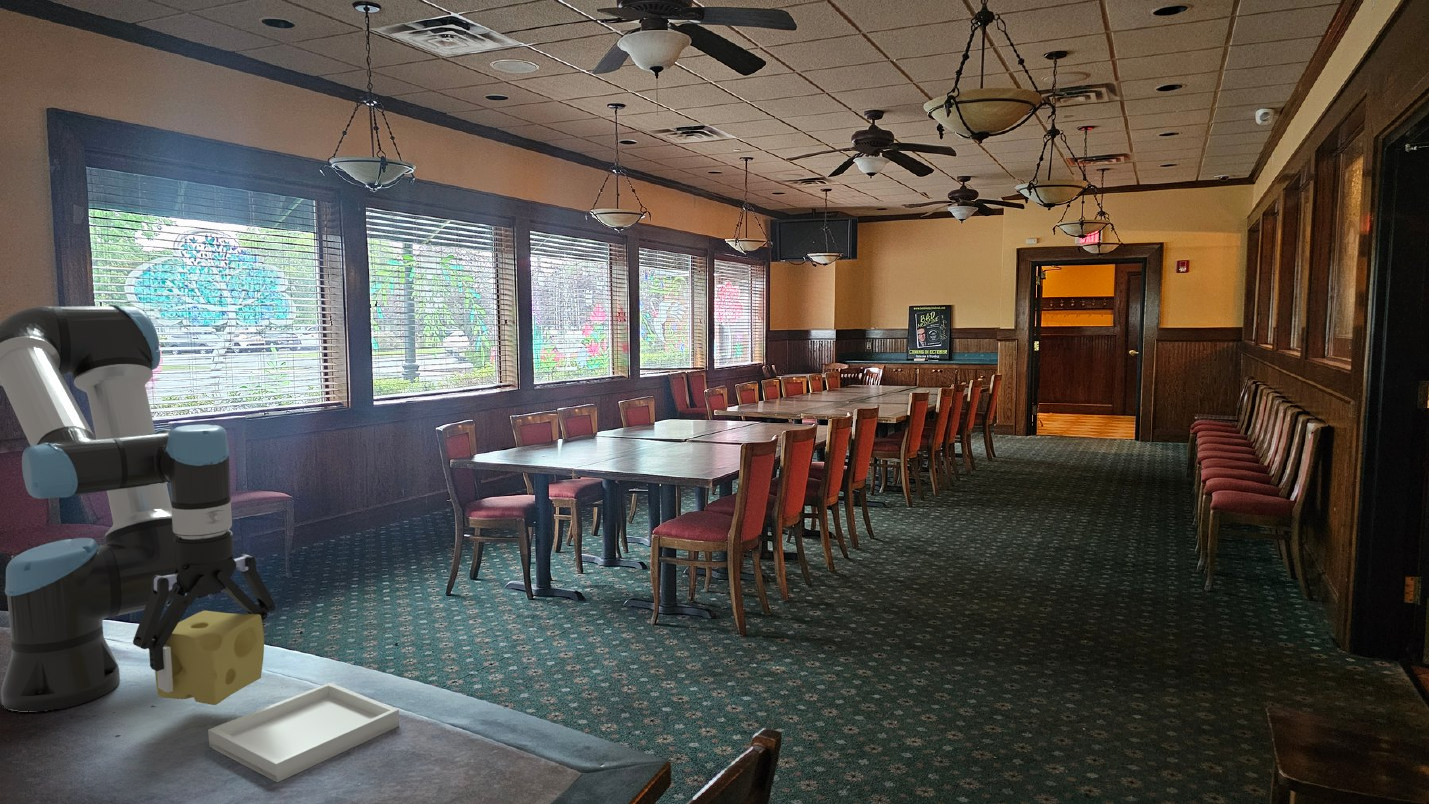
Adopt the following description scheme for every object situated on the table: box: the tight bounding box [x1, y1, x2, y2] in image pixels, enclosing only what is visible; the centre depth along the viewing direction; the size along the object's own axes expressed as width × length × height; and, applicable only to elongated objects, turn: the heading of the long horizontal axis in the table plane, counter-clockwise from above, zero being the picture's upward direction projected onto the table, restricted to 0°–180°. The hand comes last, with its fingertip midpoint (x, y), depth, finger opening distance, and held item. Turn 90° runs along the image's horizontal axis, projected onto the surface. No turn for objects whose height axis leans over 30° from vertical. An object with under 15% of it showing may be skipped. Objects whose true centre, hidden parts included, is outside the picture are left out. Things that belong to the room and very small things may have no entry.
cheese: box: [154, 610, 265, 706], centre depth 134 cm, size 10×11×10 cm
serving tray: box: [207, 682, 400, 783], centre depth 128 cm, size 17×19×2 cm
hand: (210, 674), depth 134 cm, fingers closed on cheese, 12 cm apart
